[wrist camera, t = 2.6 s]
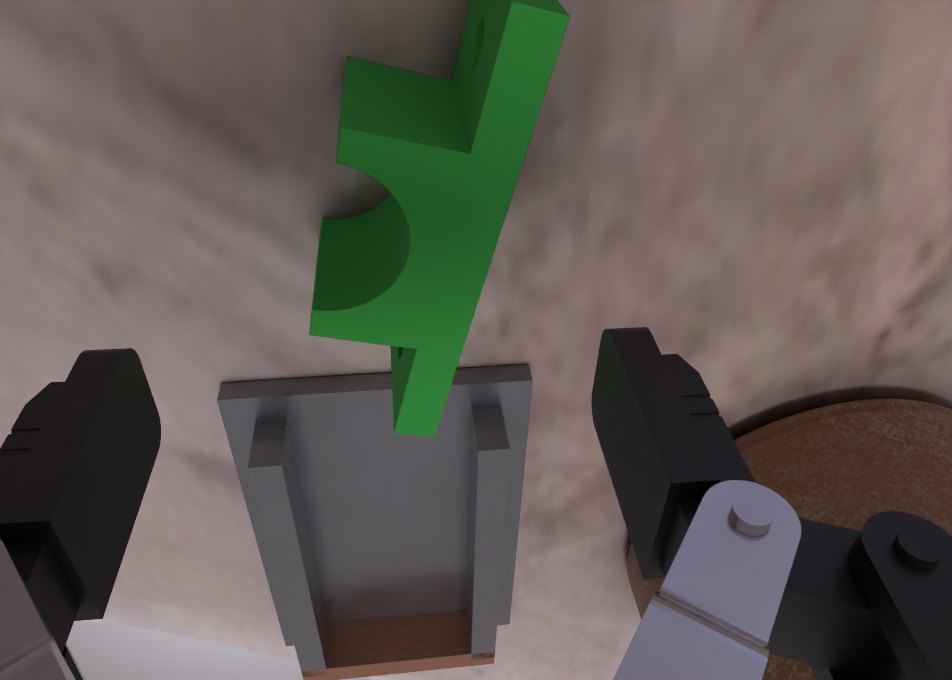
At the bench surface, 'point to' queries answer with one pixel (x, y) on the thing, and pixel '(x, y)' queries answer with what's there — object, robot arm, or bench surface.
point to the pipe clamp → (432, 196)
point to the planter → (845, 475)
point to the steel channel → (383, 516)
